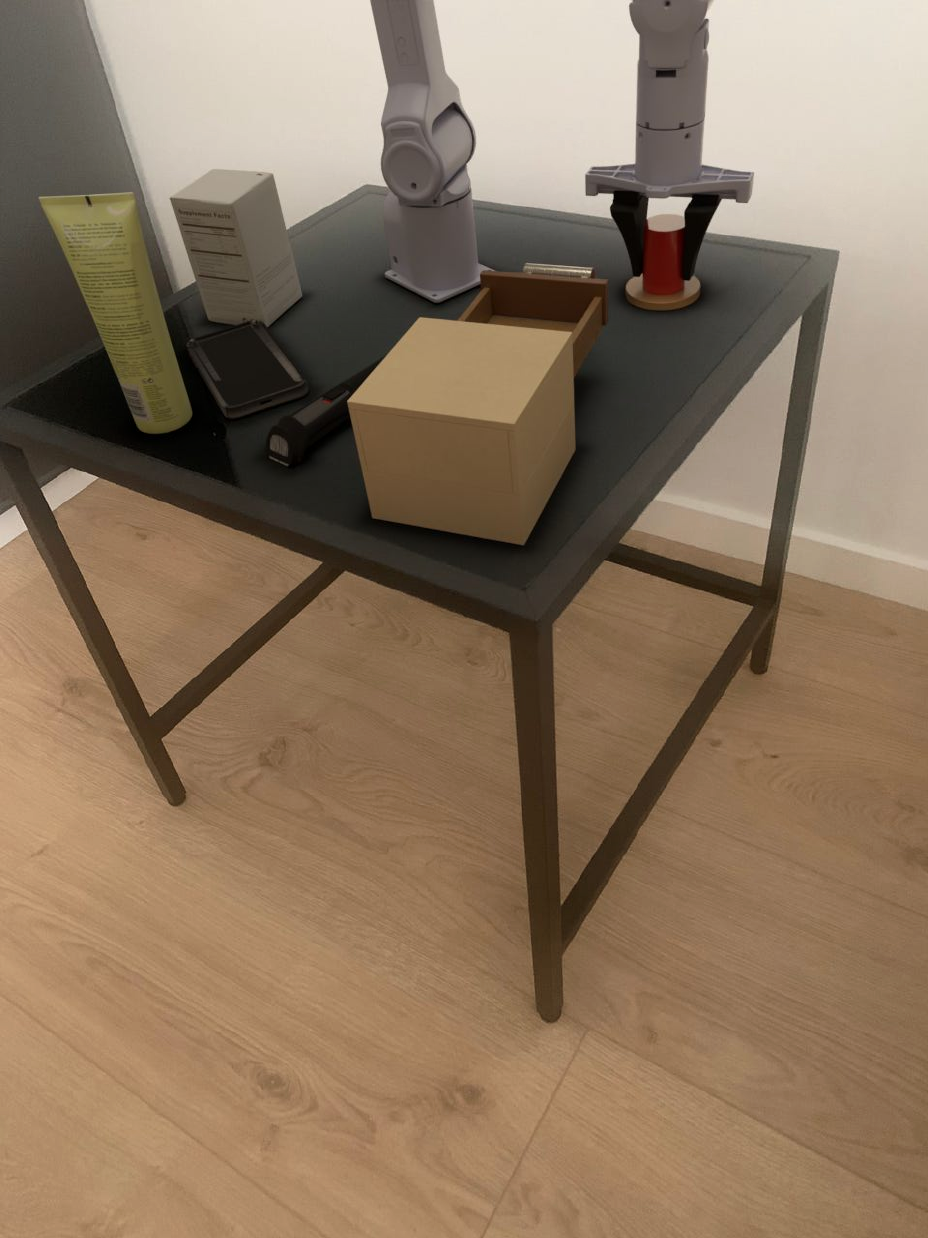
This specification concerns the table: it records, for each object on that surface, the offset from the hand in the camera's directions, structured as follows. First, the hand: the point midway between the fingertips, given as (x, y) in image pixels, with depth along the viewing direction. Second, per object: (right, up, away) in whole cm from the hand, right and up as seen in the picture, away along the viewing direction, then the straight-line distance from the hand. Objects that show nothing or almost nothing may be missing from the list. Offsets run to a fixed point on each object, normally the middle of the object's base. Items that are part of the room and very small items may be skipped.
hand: (663, 273), depth 90 cm
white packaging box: (-40, -1, +8) cm, 41 cm away
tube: (-45, -15, -6) cm, 48 cm away
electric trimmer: (-29, -16, -9) cm, 34 cm away
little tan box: (-18, -22, -17) cm, 33 cm away
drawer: (-13, -10, -12) cm, 20 cm away
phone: (-39, -10, -1) cm, 40 cm away
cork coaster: (0, -1, +1) cm, 2 cm away
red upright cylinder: (0, -1, +1) cm, 1 cm away
